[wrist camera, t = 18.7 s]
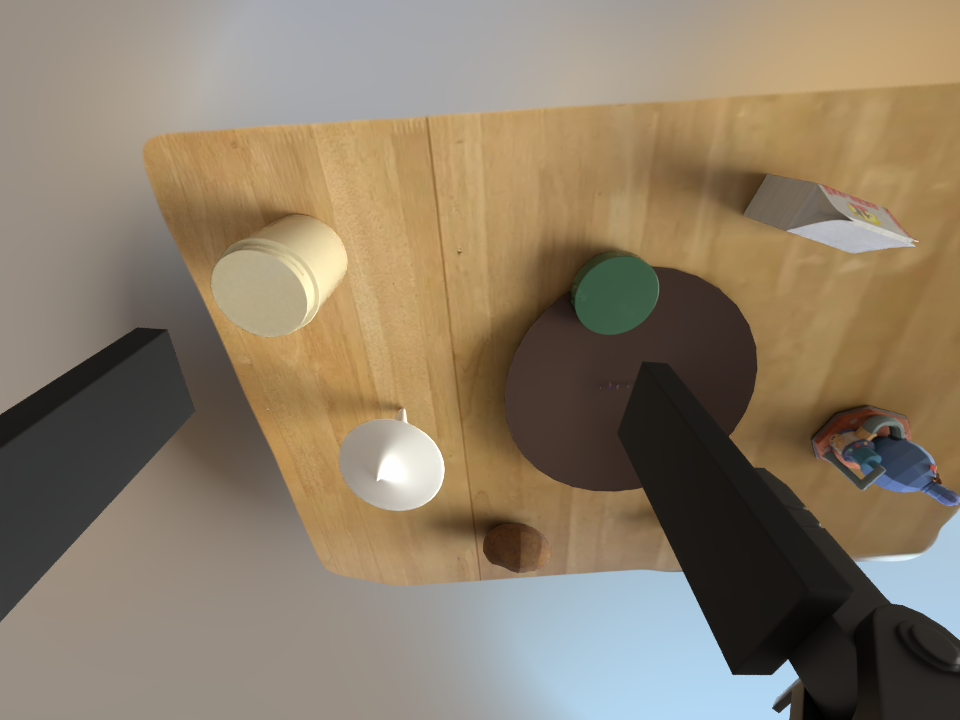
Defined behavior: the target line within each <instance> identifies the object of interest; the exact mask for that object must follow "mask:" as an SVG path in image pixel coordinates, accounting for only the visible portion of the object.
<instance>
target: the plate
mask: <svg viewBox="0 0 960 720" xmlns="http://www.w3.org/2000/svg"><path fill="white" fill-rule="evenodd" d="M652 269H653V270H654V272H655V273H656V276H657V278H658V283H659V294H658V298H657V301H656V304H655V306H654V308H653V310H652V311H651V313H650V314H649V315H648V317H647V318H646V319H645V320H644V321H643V322H642V323H640V324H639V325H638V326H636V327H634V328H633V329H631V330H629V331H626V332H623V333H619V334H613V335H605V334H599V333H596V332H593V331H591V330H589V329H588V328H587V327H585V326H584V325H583V324H582V323H581V321H580V320H579V318H578V316H577V315H576V313H575V312H574V311H573V309H572V303H571V291H570V292H568V293H566V294H565V295H564V296H562V297H561V298H560V299H559V300H558V301H556V302H555V303H554V304H553V305H552V306H550V307H549V308H548V309H547V310H546V311H544V313H543V314H542V315H541V316H540V317H539V319H538V320H537V321H536V322H535V323H534V325H533V326H532V327H531V328H530V329H529V331H528V332H527V333H526V335H525V337H524V338H523V340H522V342H521V344H520V346H519V347H518V349H517V351H516V353H515V355H514V357H513V360H512V363H511V366H510V369H509V373H508V376H507V380H506V389H505V398H504V402H505V411H506V420H507V424H508V426H509V429H510V432H511V435H512V437H513V440H514V442H515V443H516V445H517V446H518V448H519V449H520V451H521V452H522V454H523V455H524V457H525V458H526V459H527V460H528V461H530V462H531V463H532V464H533V465H534V466H535V467H536V468H537V469H538V470H539V471H541V472H543V473H544V474H546V475H548V476H549V477H551V478H552V479H554V480H556V481H559V482H562V483H564V484H567V485H570V486H572V487H577V488H582V489H587V490H592V491H623V490H632V489H638V488H642V485H641V482H640V480H639V478H638V476H637V474H636V472H635V470H634V468H633V466H632V464H631V462H630V460H629V457H628V455H627V453H626V451H625V449H624V447H623V445H622V443H621V441H620V439H619V437H618V434H617V432H618V429H619V426H620V424H621V421H622V418H623V415H624V412H625V409H626V406H627V404H628V401H629V398H630V395H631V392H632V389H633V386H634V384H635V381H636V378H637V375H638V372H639V369H640V366H641V364H642V361H646V362H661V363H668V364H669V365H670V366H671V368H672V369H673V370H674V371H675V373H676V374H677V375H678V376H679V377H680V379H681V380H682V381H683V382H684V383H685V385H686V386H687V387H688V388H689V390H690V391H691V392H692V393H693V394H694V396H695V397H696V398H697V399H698V400H699V402H700V403H701V404H702V405H703V406H704V408H705V409H706V410H707V411H708V413H709V414H710V415H711V416H712V417H713V419H714V420H715V421H716V422H717V423H718V425H719V426H720V427H721V428H722V430H723V431H724V432H725V433H726V434H727V436H729V435H730V434H731V433H732V432H733V431H734V429H735V427H736V426H737V424H738V423H739V421H740V420H741V418H742V417H743V415H744V413H745V412H746V409H747V407H748V404H749V401H750V399H751V396H752V394H753V391H754V386H755V380H756V374H757V357H756V346H755V342H754V339H753V336H752V333H751V330H750V327H749V324H748V323H747V321H746V320H745V318H744V316H743V315H742V313H741V312H740V310H739V308H738V307H737V305H736V304H735V303H734V302H733V301H731V300H730V299H729V298H728V297H727V296H726V295H725V294H724V293H723V292H722V291H721V290H720V289H719V288H717V287H715V286H713V285H712V284H710V283H708V282H706V281H705V280H703V279H701V278H699V277H698V276H695V275H691V274H688V273H685V272H681V271H678V270H675V269H669V268H655V267H652Z"/></svg>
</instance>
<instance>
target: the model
mask: <svg viewBox="0 0 960 720" xmlns="http://www.w3.org/2000/svg"><path fill="white" fill-rule="evenodd" d="M910 440H911V435H910V430H909V423H908V421H907V419H906V416H904V415H900V414H897V413H893V412H890V411H886V410H882V409H879V408H875V407H871V406H864V407H860V408H857V409H853V410H849V411H845V412H841V413H836V414H835V415H834V416H833V417H832V418H831V419H830V420H829V421H828V423H827V424H826V425H825V426H824V427H823V428H822V429H821V430H820V431H819V432H818V433H817V434H816V435H815V436H814V437H813V438H812V439H811V441H812V445H813V448H814V452H815V456H816V458H819V459H822V460H824V461H828V462H831V463H832V464H833V465H834V466H835V467H836V468H837V469H839V470H840V471H841V472H842V473H843V474H844V475H845V476H846V477H847V478H848V479H849V480H850V481H851V482H852V483H854V484H855V485H856V486H857V487H858V488H859V489H861V490H865V489H866V488H867V487H868V486H869V485H871V484H872V483H875V484H877V485H879V486H880V487H882V488H884V489H888V490H892V491H896V492H916V491H918V490H921V491H923V492H924V493H927V494H929V495H930V496H932V497H933V498H935V499H937V500H938V501H939V502H940V503H942V504H944V505H948V506H955V505H957V504H958V503H959V502H960V498H959V496H958V495H957V494H956V493H955V492H953V491H951V490H949V489H947V487H944V486H943V485H941V484H942V480H941V479H940V476H939V474H938V473H937V465H935V462H934V460H933V458H932V456H931V455H930V454H929V453H928V452H927V451H926V450H925V449H923V448H922V447H921V446H919V445H917V444H915V443H913V442H911V441H910ZM846 466H847V467H851V468H855V469H859V468H860V469H861V471H862V472H863V473H864V475H865V477H864V478H863V479H862V480H861V479H859V478H858V477H857V476H856V475H855V474H854V473H853V472H852V471H851V470H850V469H848V468H847V467H846ZM937 476H938V477H937ZM935 477H936V478H935ZM939 481H940V482H939Z"/></svg>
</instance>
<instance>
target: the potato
mask: <svg viewBox="0 0 960 720" xmlns="http://www.w3.org/2000/svg"><path fill="white" fill-rule="evenodd" d="M483 552H484V554H485V556H486V557H487V559H488V560H489V561H490V562H491V563H492V564H495V565H499V566H502V567H505V568H507V569H508V570H510V571H513V572H516V573H525V572H530V571H535V570H538V569H540V568H542V567H543V566H544V565H545V564H546V563H547V562H548V561H549V559H550V556H551V545H550V543H549V541H548V540H547V538H546V537H545V536H544V534H542V533H541V532H539V531H537V530H536V529H533V528H531V527H529V526H526V525H524V524H504V525H500V526H497V527H495V528H493V529H492V530H491V531H490V532H489V533H488V534H487V535H486V537H485V539H484V543H483Z"/></svg>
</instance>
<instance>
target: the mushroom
mask: <svg viewBox="0 0 960 720" xmlns="http://www.w3.org/2000/svg"><path fill="white" fill-rule="evenodd" d="M339 466H340V471H341V474H342V476H343V478H344V480H345V482H346V484H347V485H348V487H349V488H350V489H351V490H352V491H353V492H354V493H355V494H356V495H357V496H358V497H359V498H361V499H362V500H364V501H365V502H367V503H369V504H371V505H373V506H376V507H379V508H382V509H386V510H393V511H404V510H410V509H414V508H417V507H420V506H422V505H424V504H425V503H427V502H428V501H429V500H431V499H432V498H433V497H434V496H435V494H436V493H437V492H438V490H439V488H440V486H441V484H442V481H443V477H444V463H443V459H442V456H441V453H440V451H439V449H438V447H437V446H436V444H435V443H434V442H433V441H432V439H431V438H430V437H429V436H428V435H426V434H425V433H424V432H423V431H421V430H420V429H418V428H417V427H415V426H413V425H411V424H408V423H407V418H406V411H405V409H404V408H401V409H400V410H399V411H398V413H397V415H396V417H395V419H375V420H371V421H367V422H365V423H362V424H360V425H358V426H357V427H355V428H354V429H353V430H352V431H350V432H349V434H348V435H347V436H346V437H345V439H344V441H343V443H342V445H341V448H340V452H339Z"/></svg>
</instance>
